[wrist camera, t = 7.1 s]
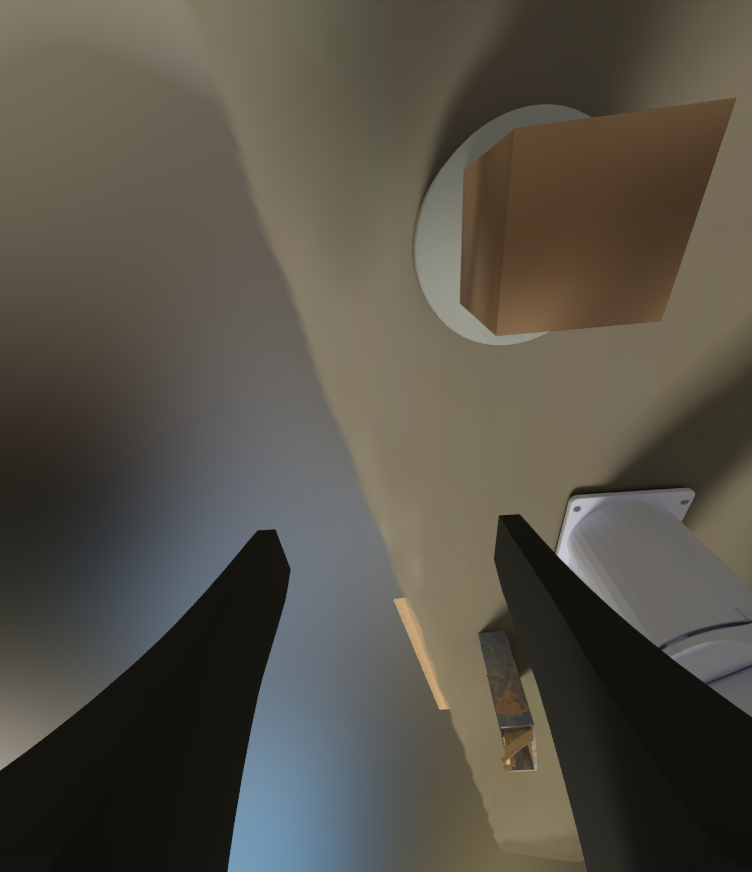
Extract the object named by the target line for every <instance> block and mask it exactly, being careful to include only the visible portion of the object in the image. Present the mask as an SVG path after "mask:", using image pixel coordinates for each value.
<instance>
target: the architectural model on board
mask: <svg viewBox="0 0 752 872" xmlns="http://www.w3.org/2000/svg"><path fill="white" fill-rule="evenodd" d="M394 602H395V605H396V607H397V610H398V612H399V614H400V617H401V619H402V621H403V624H404V626H405V629H406V631H407V633H408V636H409V638H410V641H411V643H412V645H413V648H414V650H415V653H416V655H417V657H418V660H419V662H420V664H421V667H422V669H423V672H424V674H425V676H426V679H427V681H428V683H429V686H430V688H431V691H432V693H433V695H434V698H435V700H436V703H437V705H438V707H439V710H443V709H449V707H448V705H447V703H446V701H445V699H444V697H443V695H442V693H441V691H440V689H439V687H438V684H437V680H436V675H435V670H434V668H433V665H432V662H431V661H430V659H429V657H428V654H427V651H426V649H425V647H424V642H423V636H422V634H421V629H420V627H419V625H418V623H417V621H416V618H415V616H414V614H413V612H412V610H411V608H410V606H409V604H408V602H407V600H406V598H399V599H394ZM478 635H479V639H480V643H481V648H482V653H483V657H484V661H485V665H486V669H487V674H488V675H487V677H488V681H489V685H490V690H491V694H492V698H493V703H494V707H495V711H496V715H497V720H498V724H499V728H500V732H501V737H502V741H503V745H504V751H505V757H504V758H502V762H503V763H504V762H506V764H507V766H504V771H505V772H508V771H510V772H517V771H535V770H537V757H536V743H535V730H534V723H533V719H532V716H531V713H530V710H529V706H528V703H527V700H526V697H525V693H524V690H523V687H522V684H521V680H520V677H519V674H518V670H517V667H516V664H515V661H514V657H513V654H512V651H511V648H510V644H509V641H508V638H507V635H506V631H505V630H502V631H494V632H486V633H478Z"/></svg>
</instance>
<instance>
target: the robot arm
mask: <svg viewBox="0 0 752 872" xmlns="http://www.w3.org/2000/svg"><path fill="white" fill-rule="evenodd" d="M694 497H695V492H694V491H693V490H691V489H690V488H675V489H660V490H644V491H629V492H614V493H599V494H583V495H575V496H572V497H571V498H570V500H569V502H568V506H567V510H566V514H565V518H564V522H563V526H562V529H561V533H560V537H559V541H558V545H557V549H556V553H554V551H553V550H552V549H551V548H550V547H549V546H548V545H547V544H546V543H545V542H544V541H543V540H542V539H541V537H540V536H539V535H538V534H537V533H536V532H535V531H534V530H533V529H532V527H531V526H530V525H529V524H528V523H527V522H526V521H525V520H524V518H523V517H522V516H521V515H519V514H516V515H500V516H499V520H498V529H497V537H496V546H495V555H494V561H495V565H496V569H497V573H498V577H499V580H500V584H501V588H502V592H503V594H504V597H505V600H506V602H507V605H508V608H509V610H510V613H511V616H512V618H513V621H514V624H515V626H516V629H517V631H518V634H519V637H520V639H521V642H522V645H523V647H524V650H525V652H526V655H527V658H528V660H529V663H530V666H531V668H532V671H533V674H534V677H535V680H536V683H537V686H538V689H539V692H540V696H541V699H542V702H543V706H544V709H545V713H546V716H547V720H548V723H549V727H550V730H551V734H552V737H553V741H554V745H555V748H556V752H557V756H558V759H559V763H560V766H561V770H562V774H563V777H564V781H565V785H566V789H567V793H568V797H569V800H570V804H571V808H572V812H573V816H574V820H575V824H576V827H577V831H578V835H579V840H580V844H581V848H582V852H583V856H584V860H585V864H586V868H587V872H752V589H751V588H750V587H749V586H748V585H747V584H746V583H744V582H743V581H742V580H741V579H740V578H739V577H738V576H737V575H736V574H735V573H734V572H733V571H732V570H731V569H730V568H729V567H728V566H727V565H726V564H725V563H724V562H723V561H722V560H721V559H720V558H719V557H717V556H716V555H715V554H714V553H713V552H712V551H711V550H710V549H709V548H708V547H707V546H706V545H705V544H704V543H703V542H702V541H701V540H700V539H699V538H698V537H697V536H696V535H695V534H694V533H693V532H692V531H690V530H689V529H688V528H687V527H686V526H685V525H684V524H683V523H682V520H683V518H684V516H685V514H686V512H687V510H688V508H689V506H690V505H691V503H692V501H693V499H694ZM575 507H576V508H575ZM289 576H290V567H289V564H288V561H287V559H286V556H285V553H284V551H283V548H282V546H281V543H280V541H279V538H278V535H277V532H276V530H274V529H273V530H258V531H257V532H256V533H255V534H254V535H253V536H252V538H251V539H250V540H249V541H248V542H247V543H246V545H245V546H244V547H243V548H242V549H241V551H240V552H239V553H238V554H237V555H236V557H235V558H234V559H233V560H232V561H231V563H230V564H229V565H228V566H227V568H226V569H225V570H224V571H223V572H222V573H221V574H220V576H219V577H218V578H217V579H216V580H215V581H214V582H213V584H212V585H211V586H210V587H209V588H208V589H207V591H206V592H205V593H204V594H203V595H202V596H201V597H200V598H199V599H198V600H197V602H196V603H195V604H194V605H193V606H192V607H191V608H190V609H189V610H188V611H187V612H186V613H185V614H184V616H183V617H182V618H181V619H180V620H179V621H178V622H177V623H176V624H175V625H174V626H173V627H172V628H171V629H170V630H169V631H168V632H167V633H166V634H165V635H164V636H163V637H162V638H161V639H160V640H159V641H158V642H157V643H156V644H155V645H154V646H153V647H152V648H150V649H149V650H148V651H147V652H146V653H145V654H144V655H143V656H142V657H141V658H140V659H139V660H138V661H136V662H135V663H134V664H133V665H132V666H131V667H130V668H129V669H128V670H126V671H125V672H124V673H123V674H122V675H120V676H119V677H118V678H117V679H116V680H115V681H114V682H112V683H111V684H110V685H109V686H108V687H107V688H105V689H104V690H103V691H102V692H101V693H100V694H99V695H97V696H96V697H95V698H94V699H93V700H91V701H90V702H89V703H88V704H87V705H85V706H84V707H83V708H82V709H80V710H79V711H78V712H77V713H76V714H74V715H73V716H72V717H71V718H69V719H68V720H67V721H66V722H64V723H63V724H62V725H60V726H59V727H58V728H57V729H55V730H54V731H53V732H51V733H50V734H49V735H48V736H46V737H45V738H44V739H42V740H41V741H40V742H38V743H37V744H36V745H34V746H33V747H32V748H31V749H29V750H28V751H27V752H26V753H24V754H23V755H21V756H20V757H18V758H17V759H16V760H14V761H13V762H11V763H10V764H9V765H8V766H6V767H5V768H3V769H2V770H1V771H0V872H227V870H228V863H229V856H230V849H231V843H232V836H233V829H234V822H235V816H236V810H237V804H238V798H239V792H240V786H241V780H242V774H243V769H244V764H245V758H246V753H247V747H248V742H249V736H250V731H251V727H252V722H253V717H254V713H255V708H256V703H257V698H258V694H259V690H260V686H261V682H262V678H263V675H264V671H265V667H266V664H267V661H268V658H269V654H270V651H271V647H272V644H273V641H274V638H275V634H276V631H277V628H278V624H279V620H280V617H281V614H282V610H283V607H284V603H285V599H286V594H287V588H288V582H289Z"/></svg>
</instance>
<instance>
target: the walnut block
mask: <svg viewBox="0 0 752 872" xmlns="http://www.w3.org/2000/svg"><path fill="white" fill-rule="evenodd" d="M735 101H736V98H730V99H723V100H716V101H709V102H701V103H694V104H687V105H679V106H672V107H665V108H658V109H650V110H643V111H636V112H628V113H621V114H614V115H607V116H599V117H592V118H585V119H577V120H570V121H563V122H556V123H548V124H541V125H534V126H526V127H519V128H514V129H513V130H512V131H511V132H509V133H508V134H507V135H506V136H505V137H503V138H502V139H501V140H500V141H499V142H497V143H496V144H495V145H494V146H493V147H491V148H490V149H489V150H488V151H487V152H486V153H484V154H483V155H482V156H481V157H480V158H478V159H477V160H476V161H475V162H474V163H472V164H471V165H470V166H469V167H468V168H466V169H465V170H464V173H463V207H462V240H461V274H460V304H461V305H462V306H463V307H464V308H465V309H466V310H468V311H469V312H470V313H471V314H472V315H473V316H474V317H475V318H476V319H478V320H479V321H480V322H481V323H482V324H483V325H484V326H485V327H486V328H487V329H489V330H490V331H491V332H492V333H493V334H494V335H495V336H505V335H516V334H527V333H538V332H548V331H559V330H570V329H581V328H592V327H603V326H613V325H624V324H635V323H646V322H657V321H661V320H662V317H663V314H664V311H665V308H666V305H667V303H668V300H669V297H670V294H671V291H672V288H673V285H674V282H675V279H676V276H677V273H678V270H679V267H680V264H681V261H682V258H683V255H684V252H685V249H686V246H687V243H688V240H689V237H690V234H691V231H692V228H693V225H694V222H695V220H696V217H697V214H698V211H699V208H700V205H701V202H702V199H703V196H704V193H705V190H706V187H707V184H708V181H709V178H710V175H711V172H712V169H713V166H714V163H715V160H716V157H717V154H718V151H719V148H720V145H721V142H722V139H723V137H724V134H725V131H726V128H727V125H728V122H729V119H730V116H731V113H732V110H733V107H734V104H735Z"/></svg>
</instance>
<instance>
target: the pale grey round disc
mask: <svg viewBox="0 0 752 872" xmlns="http://www.w3.org/2000/svg"><path fill="white" fill-rule="evenodd" d="M585 118H592V117H590V116H588V115H586V114H584V113H583V112H581V111H579V110H576V109H573V108H570V107H566V106H563V105H553V104H541V105H531V106H527V107H523V108H519V109H515V110H512V111H510V112H508V113H505V114H503V115H501V116H499V117H497V118H495V119H494V120H492V121H490V122H488V123H487V124H485V125H484V126H482V127H481V128H480V129H479V130H477V131H476V132H475V133H473V134H472V135H471V136H470V137H469V138H468V139H467V140H466V141H465V142H464V143H463V144H462V145H461V146H460V147H459V148H458V149H457V150H456V151H455V152H454V154H453V155H452V156H451V157H450V158H449V160H448V161H447V162H446V163H445V164H444V166H443V167H442V168H441V170H440V171H439V172H438V173H437V175H436V176H435V178H434V179H433V181H432V182H431V184H430V186H429V187H428V189H427V191H426V193H425V195H424V198H423V200H422V202H421V205H420V208H419V211H418V213H417V217H416V221H415V226H414V232H413V240H412V256H413V265H414V270H415V274H416V278H417V281H418V284H419V286H420V289H421V291H422V292H423V294H424V296H425V298H426V300H427V301H428V303H429V304H430V306H431V307H432V308H433V310H434V311H435V313H436V314H437V315H438V317H439V318H440V319H441V320H442V321H443V322H444V323H445V324H446V325H447V326H448V327H449V328H451V329H452V330H453V331H455V332H456V333H458V334H460V335H461V336H463V337H465V338H467V339H470V340H473V341H475V342H479V343H484V344H491V345H510V344H516V343H522V342H525V341H528V340H532V339H535V338H537V337H539V336H542V335H544V334H546V333H548V332H550V331H548V332H538V333H527V334H516V335H505V336H495V335H494V334H493V333H492V332H491V331H490V330H489V329H487V328H486V327H485V326H484V325H483V324H482V323H481V322H480V321H479V320H478V319H476V318H475V317H474V316H473V315H472V314H471V313H470V312H469V311H468V310H466V309H465V308H464V307H463V306H462V305H461V304H460V274H461V240H462V207H463V173H464V170H465V169H466V168H468V167H469V166H470V165H471V164H472V163H474V162H475V161H476V160H477V159H478V158H480V157H481V156H482V155H483V154H484V153H486V152H487V151H488V150H489V149H490V148H491V147H493V146H494V145H495V144H496V143H497V142H499V141H500V140H501V139H502V138H503V137H505V136H506V135H507V134H508V133H509V132H511V131H512V130H513V129H514V128H519V127H526V126H534V125H541V124H548V123H556V122H563V121H570V120H577V119H585Z"/></svg>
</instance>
